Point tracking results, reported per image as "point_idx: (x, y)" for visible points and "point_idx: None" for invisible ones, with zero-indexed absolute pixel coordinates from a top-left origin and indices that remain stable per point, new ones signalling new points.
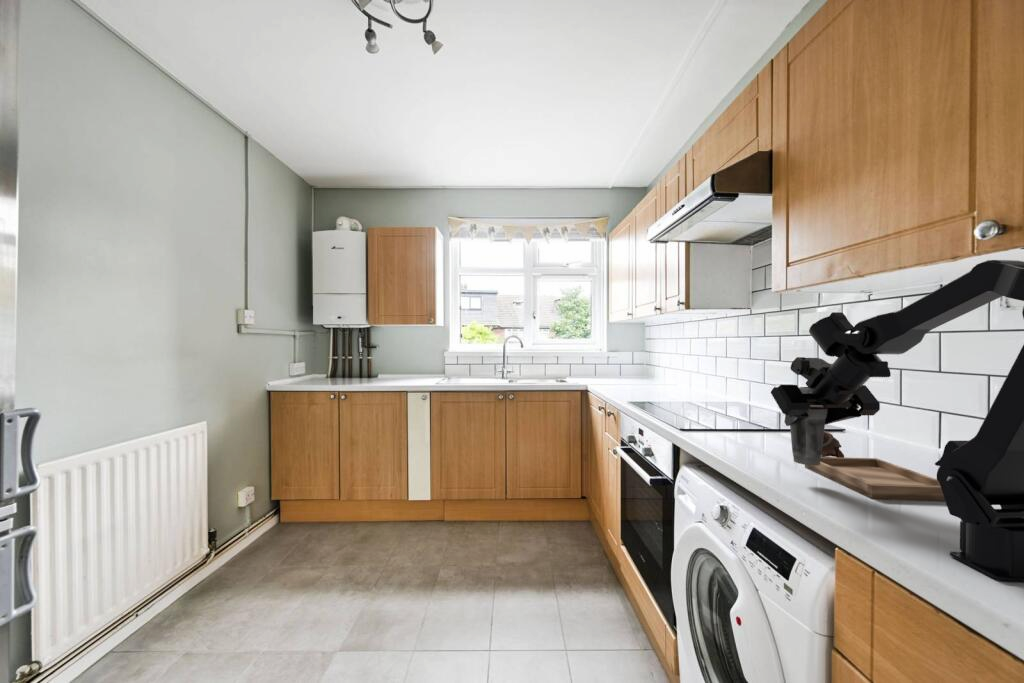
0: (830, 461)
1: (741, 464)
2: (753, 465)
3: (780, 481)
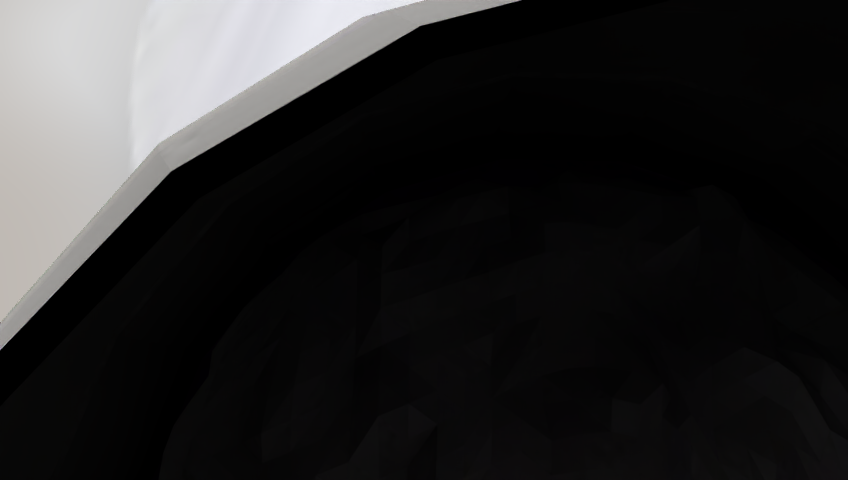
0: None
1: (197, 22)
2: (277, 33)
3: None
